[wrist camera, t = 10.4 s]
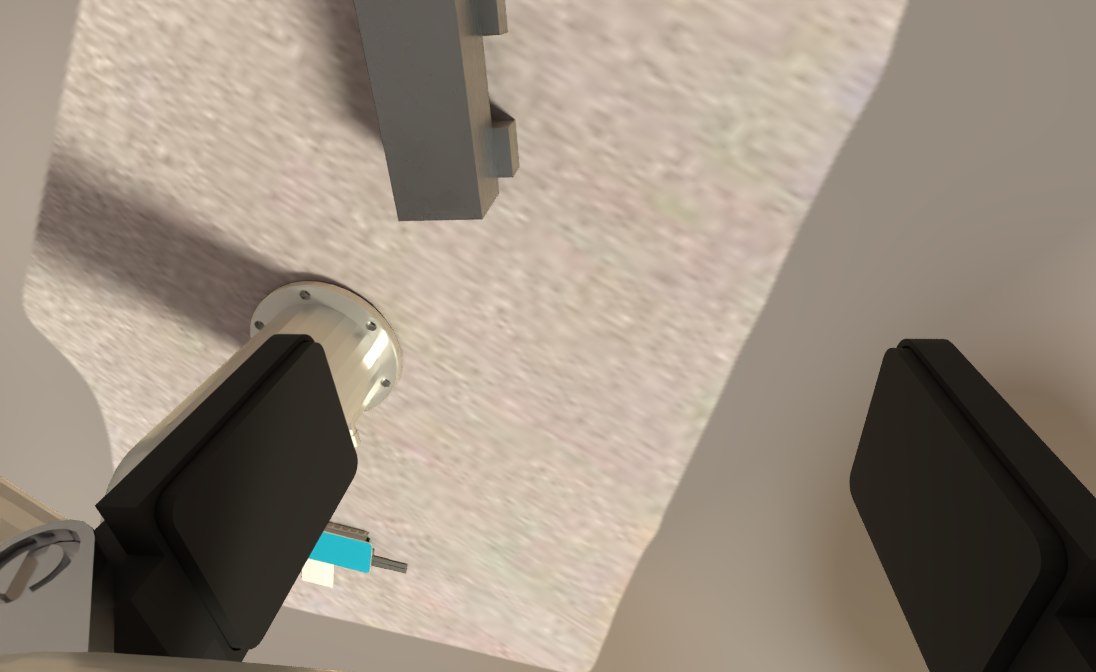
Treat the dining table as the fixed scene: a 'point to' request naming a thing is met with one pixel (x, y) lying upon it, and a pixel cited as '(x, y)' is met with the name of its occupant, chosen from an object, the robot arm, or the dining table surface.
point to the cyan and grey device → (343, 555)
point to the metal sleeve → (437, 104)
